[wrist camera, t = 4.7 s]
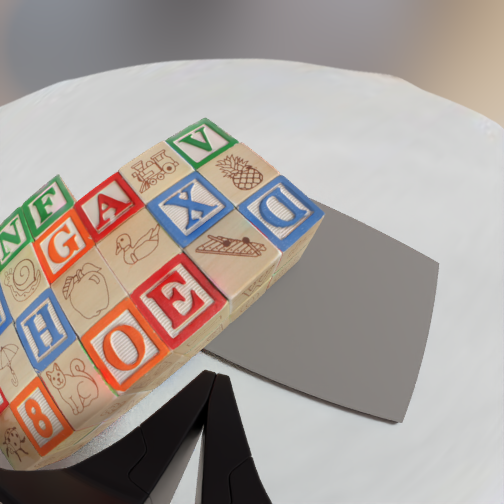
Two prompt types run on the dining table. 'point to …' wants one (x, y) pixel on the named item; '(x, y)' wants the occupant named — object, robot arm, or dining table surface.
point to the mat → (342, 320)
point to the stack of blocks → (133, 282)
